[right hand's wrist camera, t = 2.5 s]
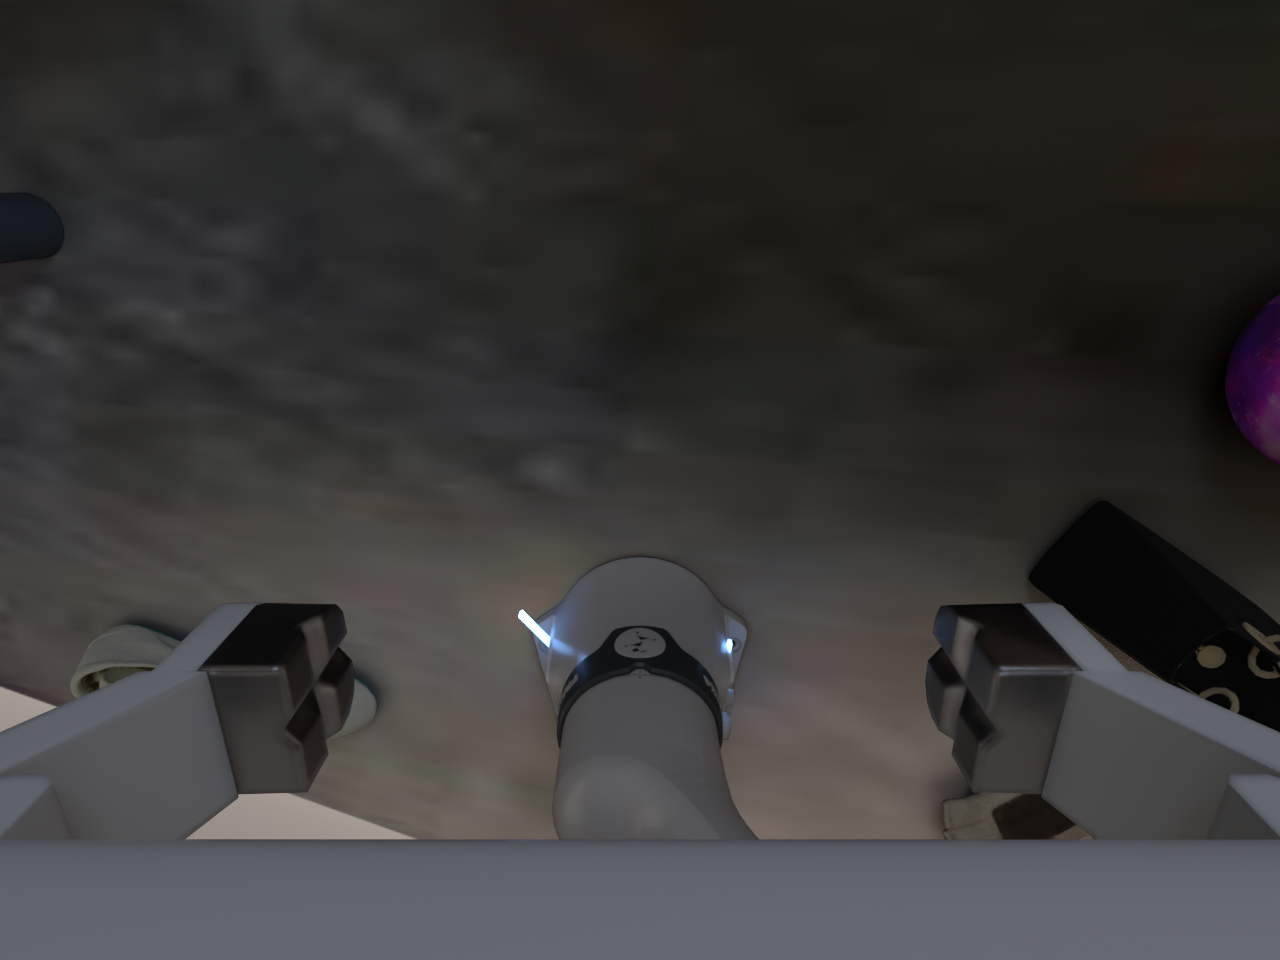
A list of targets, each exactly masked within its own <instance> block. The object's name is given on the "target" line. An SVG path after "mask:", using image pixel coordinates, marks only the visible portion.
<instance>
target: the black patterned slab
mask: <svg viewBox="0 0 1280 960" xmlns="http://www.w3.org/2000/svg"><path fill="white" fill-rule="evenodd" d="M1029 580H1030V582H1031V583H1032V584H1033V585H1034V586H1035V587H1036V588H1038V589H1039V590H1040V591H1042V592H1043V593H1044V594H1045V595H1047V596H1048V597H1049V598H1051V599H1052V600H1053V601H1055V602H1056V603H1057V604H1059V605H1062V606H1063V607H1064V608H1065V609H1066V610H1067V611H1068V612H1069V613H1070V614H1072V615H1073V616H1074V617H1075V618H1077V619H1078V620H1079V621H1081V622H1082V623H1084V624H1085V625H1086V626H1088V627H1089V628H1091V629H1092V630H1093V631H1095V632H1096V633H1098V634H1099V635H1100V636H1102V637H1103V638H1105V639H1106V640H1107V641H1109V642H1110V643H1112V644H1113V645H1114V646H1116V647H1117V648H1119V649H1120V650H1121V651H1123V652H1124V653H1126V654H1127V655H1128V656H1130V657H1131V658H1133V659H1134V660H1135V661H1137V662H1138V663H1140V664H1141V665H1142V666H1144V667H1145V668H1147V669H1148V670H1150V671H1151V672H1153V673H1154V674H1156V675H1157V676H1158V677H1160V678H1161V679H1163V680H1164V681H1166V682H1167V683H1169V684H1171V685H1173V686H1175V687H1178V688H1180V689H1182V690H1184V691H1187V692H1189V693H1191V694H1193V695H1196V696H1198V697H1200V698H1203V699H1205V700H1207V701H1209V702H1212V703H1214V704H1216V705H1219V706H1221V707H1223V708H1225V709H1228V710H1230V711H1232V712H1234V713H1237V714H1239V715H1241V716H1244V717H1246V718H1248V719H1250V720H1253V721H1255V722H1257V723H1259V724H1262V725H1264V726H1266V727H1269V728H1271V729H1273V730H1275V731H1278V732H1280V625H1279V624H1278V623H1277V622H1275V621H1274V620H1273V619H1272V618H1271V617H1270V616H1269V615H1268V614H1266V613H1265V612H1264V611H1263V610H1262V609H1261V608H1259V607H1258V606H1257V605H1255V604H1254V603H1253V602H1251V601H1250V600H1249V599H1247V598H1246V597H1245V596H1243V595H1242V594H1241V593H1239V592H1238V591H1237V590H1235V589H1234V588H1233V587H1231V586H1230V585H1229V584H1227V583H1226V582H1224V581H1223V580H1221V579H1220V578H1219V577H1217V576H1216V575H1214V574H1213V573H1211V572H1210V571H1209V570H1207V569H1206V568H1204V567H1203V566H1201V565H1200V564H1199V563H1197V562H1196V561H1194V560H1193V559H1191V558H1190V557H1189V556H1187V555H1186V554H1184V553H1183V552H1181V551H1180V550H1178V549H1177V548H1176V547H1174V546H1173V545H1171V544H1170V543H1168V542H1167V541H1165V540H1164V539H1163V538H1161V537H1160V536H1158V535H1157V534H1155V533H1154V532H1152V531H1151V530H1149V529H1148V528H1147V527H1145V526H1144V525H1142V524H1141V523H1139V522H1138V521H1136V520H1135V519H1133V518H1132V517H1130V516H1129V515H1127V514H1126V513H1124V512H1122V511H1121V510H1119V509H1118V508H1116V507H1115V506H1113V505H1112V504H1110V503H1109V502H1107V501H1100V502H1098V503H1097V504H1095V505H1094V506H1093V507H1092V508H1090V509H1089V510H1088V511H1087V512H1086V513H1085V514H1084V515H1083V516H1082V517H1080V518H1079V519H1078V520H1077V521H1076V522H1075V523H1074V524H1073V525H1072V526H1071V527H1070V528H1069V529H1068V530H1067V531H1066V532H1065V533H1064V534H1063V535H1062V536H1061V538H1060V539H1059V540H1058V541H1057V542H1056V543H1055V544H1054V545H1053V546H1052V547H1051V548H1050V549H1049V550H1048V552H1047V553H1046V554H1045V555H1044V557H1043V558H1042V559H1041V560H1040V561H1039V563H1038V564H1037V565H1036V566H1035V568H1034V569H1033V570H1032V572H1031V573H1030V575H1029Z"/></svg>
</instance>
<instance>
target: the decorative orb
mask: <svg viewBox="0 0 1280 960" xmlns="http://www.w3.org/2000/svg"><path fill="white" fill-rule="evenodd" d="M1225 390H1226V397H1227V403H1228V406H1229V409H1230V412H1231V415H1232V417H1233V419H1234V421H1235V423H1236V425H1237V426H1238V428H1239V430H1240V431H1241V432H1242V434H1243V435H1244V437H1245V438H1246V439H1247V440H1248V441H1249V442H1250V443H1251V444H1252V445H1253V446H1254V447H1255V448H1256V449H1257V450H1258V451H1259V452H1260V453H1262V454H1263V455H1264V456H1266V457H1267V458H1268V459H1270V460H1271V461H1273V462H1275V463H1276V464H1278V465H1280V294H1278V295H1277V296H1276V297H1274V298H1273V299H1272V300H1270V301H1269V302H1268V303H1267V304H1266V305H1265V306H1263V307H1262V308H1261V309H1260V310H1259V311H1258V312H1257V313H1256V314H1255V315H1254V316H1253V318H1252V319H1251V320H1250V321H1249V322H1248V324H1247V325H1246V326H1245V328H1244V329H1243V331H1242V332H1241V334H1240V335H1239V337H1238V339H1237V340H1236V342H1235V344H1234V347H1233V349H1232V351H1231V354H1230V357H1229V360H1228V364H1227V369H1226V377H1225Z"/></svg>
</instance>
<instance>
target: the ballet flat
mask: <svg viewBox="0 0 1280 960" xmlns="http://www.w3.org/2000/svg"><path fill="white" fill-rule="evenodd" d="M181 642H182V641H180V640H178V639H176V638H174V637H171V636H169V635H167V634H164V633H162V632H159V631H157V630H154V629H151V628H148V627H145V626H141V625H135V624H129V625H118V626H114V627H111V628H109V629H108V630H106V631H105V632H103V633H102V634H101V635H100V636H98V637H97V638H96V639H95V640H94V641H93V642H92V643H91V644H90V645H89V646H88V648H87V650H86V652H85V654H84V656H83V657H82V659H81V661H80V663H79V665H78V668H77V670H76V672H75V674H74V675H73V677H72V680H71V684H70V690H71V692H72V694H73V695H74V696H75V697H76V698H80V697H82V696H84V695H86V694H89V693H91V692H93V691H95V690H98V689H100V688H102V687H105V686H107V685H109V684H111V683H114V682H116V681H118V680H121V679H123V678H125V677H127V676H130V675H132V674H134V673H137V672H139V671H152V670H153V669H154V668H155V667H156V666H157V665H158V664H159V663H160V662H161V661H162V660H163V659H164V658H165V657H167V656H168V655H169V654H170V653H171V652H172V651H173V650H174V649H175V648H176V647H177V646H178V645H179V644H180V643H181ZM376 711H377V702H376V699H375V697H374V695H373V692H372V690H371V689H370V688H369V686H368V685H367V684H365V683H364V682H363V681H361V680H360V679H358V678H356V677H354V697H353V701H352V705H351V710H350V714H349V716H348V718H347V720H346V722H345V724H344V726H343V728H342V730H341V731H339V732H338V733H336V734H335V735H333V736H331V737H330V738H328V739H327V740H326V741H329V740H333V739H337V738H340V737H343V736H346V735H348V734H351V733H353V732H355V731H357V730H359V729H361V728H363V727H364V726H366V725H368V724H369V723H370V722H371V721H372V719H373V718H374V716H375V714H376Z"/></svg>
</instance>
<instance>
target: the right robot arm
mask: <svg viewBox="0 0 1280 960" xmlns="http://www.w3.org/2000/svg"><path fill="white" fill-rule="evenodd" d="M518 617H519V618H520V619H521V620H522V621H523V622H524V623H525V624H526V625H527V626H528V627H529V628H530V629H531V630H532V631H533V639H534V642H535V645H536V649H537V652H538V656H539V659H540V662H541V666H542V669H543V673H544V676H545V679H546V683H547V686H548V690H549V693H550V696H551V700H552V703H553V707H554V710H555V713H556V717H557V723H558V724H557V739H558V745H559V748H560V753H559V760H558V767H557V774H556V781H555V789H554V796H553V803H552V814H553V821H554V826H555V829H556V833H557V836H558V838H559V840H246V839H245V840H244V839H242V840H241V839H238V840H237V839H236V840H234V839H233V840H232V839H231V840H229V839H228V840H227V839H225V840H224V839H220V840H219V839H217V840H215V839H214V840H210V839H205V840H204V839H201V840H200V839H196V840H194V839H191V840H190V839H186V838H187V837H188V836H190V835H191V834H192V833H194V832H195V831H196V830H197V829H199V828H200V827H201V826H203V825H204V824H205V823H206V822H208V821H209V820H210V819H212V818H213V817H214V816H215V815H217V814H218V813H219V812H221V811H222V810H223V809H224V808H226V807H227V806H228V805H230V804H231V803H232V802H233V801H235V800H236V799H237V798H238V794H262V793H298V792H308V790H309V788H310V786H311V785H312V783H313V781H314V779H315V777H316V775H317V774H318V772H319V770H320V768H321V766H322V765H323V763H324V761H325V759H326V757H327V756H328V749H327V744H326V740H327V739H328V738H330V737H331V736H333V735H335V734H336V733H338V732H339V731H341V730H342V728H343V726H344V724H345V722H346V720H347V718H348V716H349V714H350V710H351V705H352V701H353V697H354V671H353V664H352V660H351V659H350V658H349V657H348V656H347V655H346V654H345V653H344V652H343V651H342V650H341V649H340V648H339V647H338V646H339V645H340V643H341V642H342V640H343V638H344V637H345V635H346V634H347V629H346V624H345V620H344V615H343V611H342V610H341V609H340V608H339V607H338V606H337V605H336V604H291V603H263V604H262V603H260V602H253V603H226V604H220V605H218V606H217V607H216V608H215V609H214V610H213V611H212V612H211V613H210V614H209V615H208V616H207V617H206V618H205V619H204V620H203V621H202V622H201V623H200V624H199V625H198V626H197V627H196V628H195V629H194V630H193V631H192V632H191V633H190V634H189V635H188V636H187V637H186V638H185V639H184V640H183V641H182V642H181V643H180V644H179V645H178V646H177V647H176V648H175V649H174V650H173V651H172V652H171V653H170V654H169V655H168V656H167V657H165V658H164V659H163V660H162V661H161V662H160V663H159V664H158V665H157V666H156V667H155V668H154V669H153V670H152V671H139V672H137V673H134V674H132V675H130V676H127V677H125V678H123V679H121V680H118V681H116V682H114V683H111V684H109V685H107V686H105V687H102V688H100V689H98V690H95V691H93V692H91V693H89V694H86V695H84V696H82V697H80V698H77V699H75V700H73V701H70V702H68V703H66V704H64V705H61V706H59V707H57V708H54V709H52V710H50V711H48V712H45V713H43V714H41V715H38V716H36V717H34V718H32V719H29V720H27V721H25V722H22V723H20V724H18V725H16V726H13V727H11V728H9V729H6V730H4V731H2V732H0V960H1280V732H1278V731H1275V730H1273V729H1271V728H1269V727H1266V726H1264V725H1262V724H1259V723H1257V722H1255V721H1253V720H1250V719H1248V718H1246V717H1244V716H1241V715H1239V714H1237V713H1234V712H1232V711H1230V710H1228V709H1225V708H1223V707H1221V706H1219V705H1216V704H1214V703H1212V702H1209V701H1207V700H1205V699H1203V698H1200V697H1198V696H1196V695H1193V694H1191V693H1189V692H1187V691H1184V690H1182V689H1180V688H1178V687H1175V686H1173V685H1171V684H1168V683H1166V682H1164V681H1162V680H1159V679H1157V678H1155V677H1153V676H1150V675H1148V674H1146V673H1143V672H1141V671H1128V670H1127V669H1126V668H1125V667H1124V666H1123V665H1122V664H1121V663H1120V662H1119V661H1118V660H1117V659H1116V658H1115V657H1114V656H1113V655H1112V654H1111V653H1110V652H1109V651H1108V650H1107V649H1106V648H1104V647H1103V646H1102V645H1101V644H1100V643H1099V642H1098V641H1097V640H1096V639H1095V638H1094V637H1093V636H1092V635H1091V634H1090V633H1089V632H1088V631H1087V630H1086V629H1085V628H1084V627H1083V626H1082V625H1081V624H1080V623H1079V622H1078V621H1077V620H1076V619H1075V618H1074V617H1073V616H1072V615H1071V614H1070V613H1069V612H1068V611H1067V610H1066V609H1065V608H1064V607H1063V606H1062V605H1059V604H1056V603H1053V602H1043V603H1015V604H974V605H945V606H941V607H940V609H939V611H938V613H937V615H936V618H935V623H934V629H933V634H934V635H935V637H936V638H937V640H938V642H939V643H940V645H941V646H942V647H941V648H940V649H939V650H938V651H937V652H936V653H935V654H934V655H933V656H932V657H931V658H930V659H929V660H928V665H927V673H926V680H925V684H926V695H927V703H928V707H929V710H930V713H931V716H932V718H933V720H934V722H935V724H936V726H937V728H938V730H939V731H941V732H942V733H944V734H945V735H947V736H949V737H950V738H952V739H953V740H954V744H953V749H952V756H953V757H954V759H955V761H956V763H957V765H958V766H959V768H960V770H961V772H962V774H963V775H964V777H965V779H966V781H967V783H968V784H969V786H970V788H971V790H972V792H980V793H1017V794H1042V796H1041V797H1042V798H1043V799H1044V800H1046V801H1047V802H1048V803H1049V804H1051V805H1052V806H1053V807H1055V808H1056V809H1057V810H1058V811H1060V812H1061V813H1062V814H1064V815H1065V816H1066V817H1067V818H1069V819H1070V820H1071V821H1072V822H1074V823H1075V824H1076V825H1078V826H1079V827H1080V828H1081V829H1083V830H1084V831H1085V832H1087V833H1088V834H1089V835H1090V836H1092V837H1093V838H1094V839H1096V840H759V839H758V838H757V836H756V835H755V834H754V833H753V832H752V830H751V829H750V828H749V827H748V825H747V824H746V823H745V821H744V820H743V818H742V817H741V815H740V814H739V812H738V810H737V808H736V807H735V805H734V802H733V800H732V797H731V794H730V790H729V787H728V783H727V779H726V775H725V771H724V767H723V762H722V756H721V751H720V749H721V745H722V740H726V739H728V738H729V735H730V730H731V715H730V713H728V712H725V710H726V707H727V706H728V707H729V706H730V707H731V706H733V703H734V690H732V686H733V683H734V679H735V676H736V673H737V669H738V666H739V662H740V659H741V656H742V652H743V649H744V645H745V642H746V639H747V624H746V622H745V621H744V620H743V619H742V618H741V617H740V616H738V615H737V614H735V613H734V612H732V611H730V610H728V609H727V608H725V607H723V606H722V605H721V604H720V603H719V602H718V601H717V600H716V598H715V597H714V596H713V594H712V593H711V591H710V590H709V589H708V587H707V586H706V585H705V584H704V583H703V582H702V581H701V580H700V579H699V578H698V577H697V576H695V575H694V574H693V573H691V572H690V571H688V570H686V569H685V568H683V567H681V566H679V565H676V564H674V563H671V562H668V561H665V560H661V559H655V558H647V557H633V558H625V559H619V560H615V561H612V562H609V563H606V564H604V565H601V566H599V567H597V568H595V569H594V570H592V571H590V572H589V573H587V574H586V575H585V576H583V577H582V578H581V579H580V580H579V581H578V582H577V583H576V584H575V585H574V586H573V587H572V589H571V590H570V591H569V593H568V594H567V596H566V597H565V598H564V600H563V601H562V602H561V603H560V604H559V605H558V606H557V607H555V608H553V609H552V610H550V611H548V612H547V613H545V614H543V615H542V616H540V617H539V618H538V619H537V620H536V621H535V622H534V621H533V620H532V619H531V618H530V617H529V616H528V615H527V614H526V613H525V612H524V611H523V610H521V611H520V612H519V616H518ZM732 640H733V641H734V642H733V643H732Z"/></svg>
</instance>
